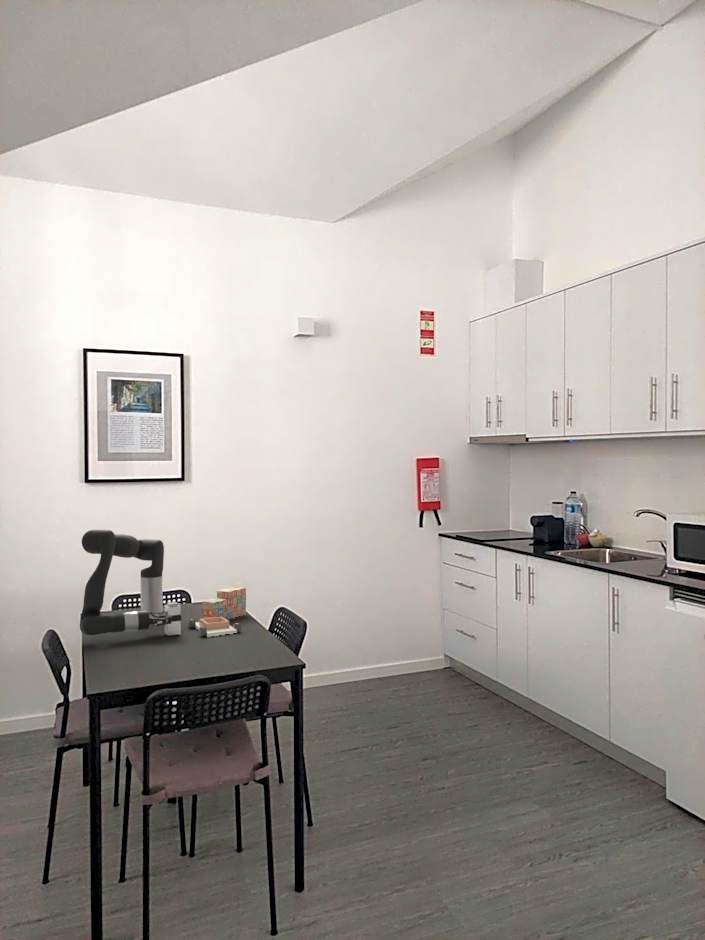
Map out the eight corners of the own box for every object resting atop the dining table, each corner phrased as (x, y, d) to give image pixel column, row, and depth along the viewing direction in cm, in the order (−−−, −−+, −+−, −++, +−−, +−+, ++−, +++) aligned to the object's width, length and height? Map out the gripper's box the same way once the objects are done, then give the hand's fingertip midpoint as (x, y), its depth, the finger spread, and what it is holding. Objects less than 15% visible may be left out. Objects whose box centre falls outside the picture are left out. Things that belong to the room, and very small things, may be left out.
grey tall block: (164, 632, 294) (164, 602, 293) (177, 631, 296) (177, 601, 296) (167, 635, 289) (167, 604, 289) (180, 634, 292) (180, 603, 291)
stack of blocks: (213, 625, 310) (213, 595, 309) (202, 623, 313) (202, 594, 313) (246, 615, 328) (246, 587, 328) (235, 613, 331) (235, 585, 331)
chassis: (187, 626, 305) (187, 617, 305) (225, 622, 313) (225, 613, 313) (202, 637, 288) (202, 627, 288) (241, 633, 296) (241, 623, 295)
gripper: (139, 614, 279) (184, 610, 287) (131, 607, 292) (174, 603, 300) (139, 634, 279) (184, 629, 287) (131, 626, 292) (174, 621, 300)
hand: (179, 616), depth 294 cm, fingers closed on grey tall block, 5 cm apart
